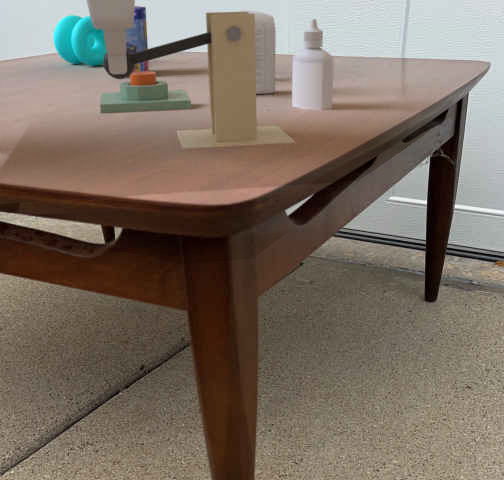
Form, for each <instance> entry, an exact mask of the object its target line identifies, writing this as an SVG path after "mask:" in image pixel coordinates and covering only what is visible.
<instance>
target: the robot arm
mask: <svg viewBox="0 0 504 480" xmlns="http://www.w3.org/2000/svg"><path fill="white" fill-rule="evenodd" d="M86 4H87V9H88V13H89V16H90V17H91V20H92V23H93V26H94V27H95V28H96V29H103V30H104V39H105V45H106V50H107V55H108V64H109V71H110V73H112V74H125V73H126V72H127V59H126V29H129V28H131V27H132V26H133V22H134V10H135V6H136V0H86Z"/></svg>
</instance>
